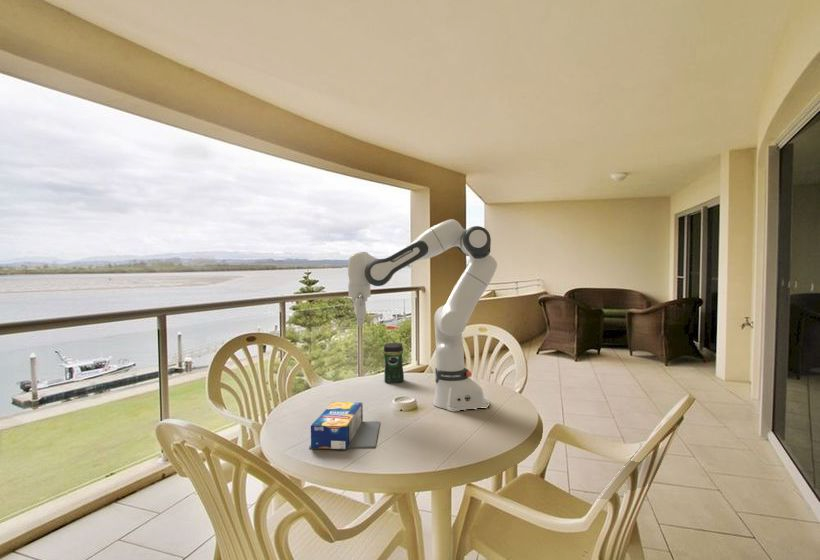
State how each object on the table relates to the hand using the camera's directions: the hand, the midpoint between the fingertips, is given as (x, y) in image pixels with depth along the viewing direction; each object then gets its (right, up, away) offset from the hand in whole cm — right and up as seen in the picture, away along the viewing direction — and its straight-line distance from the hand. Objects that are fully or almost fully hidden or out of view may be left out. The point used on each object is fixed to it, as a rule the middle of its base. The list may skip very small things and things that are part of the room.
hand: (360, 326), depth 155 cm
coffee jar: (+12, -30, +31) cm, 45 cm away
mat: (0, -32, -29) cm, 43 cm away
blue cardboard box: (-2, -28, -18) cm, 33 cm away
